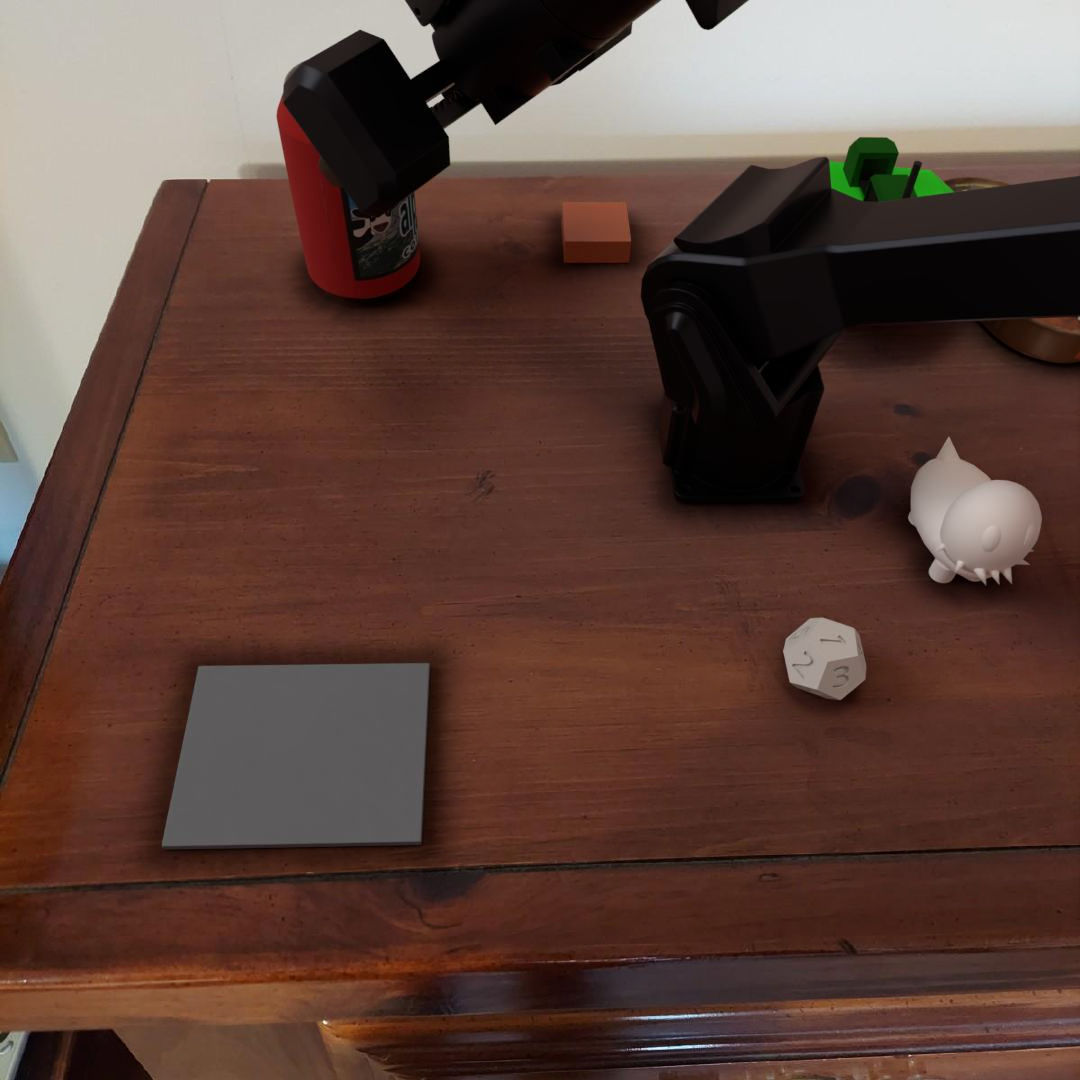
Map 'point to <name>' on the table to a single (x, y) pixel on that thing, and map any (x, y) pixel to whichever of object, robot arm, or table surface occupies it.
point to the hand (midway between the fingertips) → (388, 133)
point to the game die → (825, 658)
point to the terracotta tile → (595, 232)
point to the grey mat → (302, 757)
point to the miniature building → (881, 174)
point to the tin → (1030, 336)
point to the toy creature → (972, 519)
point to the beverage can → (345, 226)
